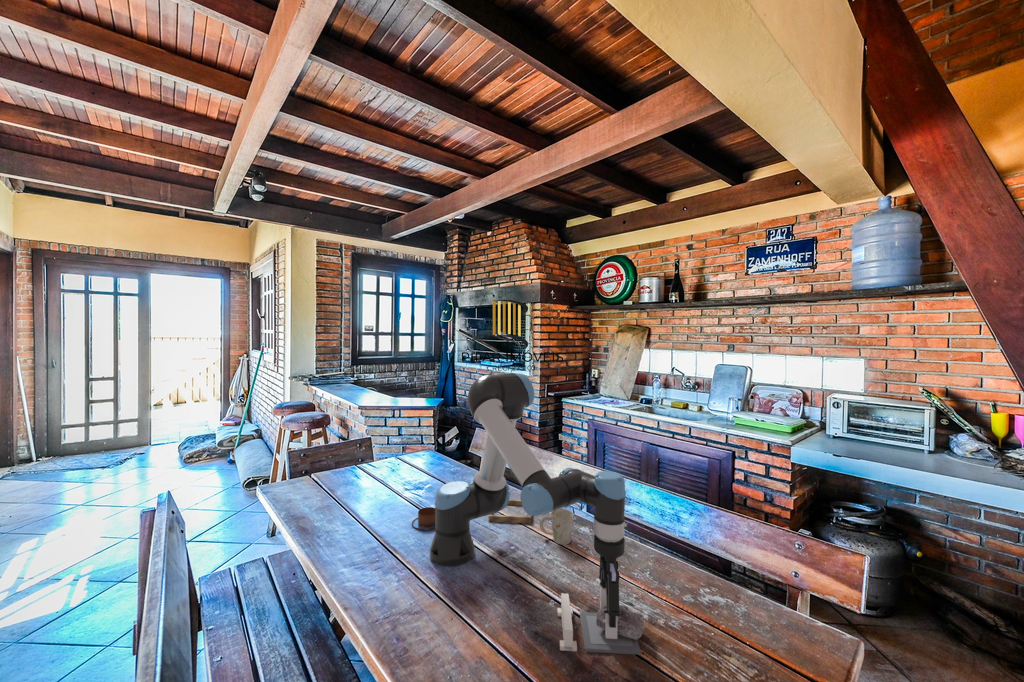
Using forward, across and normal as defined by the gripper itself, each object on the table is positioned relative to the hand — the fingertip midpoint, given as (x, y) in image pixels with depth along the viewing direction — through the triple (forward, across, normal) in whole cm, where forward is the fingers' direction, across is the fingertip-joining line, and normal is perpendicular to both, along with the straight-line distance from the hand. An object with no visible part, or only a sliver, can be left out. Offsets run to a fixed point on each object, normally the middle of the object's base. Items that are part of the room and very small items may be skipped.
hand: (608, 624), depth 104 cm
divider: (+2, 0, +10) cm, 11 cm away
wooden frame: (+2, +67, +29) cm, 73 cm away
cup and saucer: (+3, +54, +61) cm, 82 cm away
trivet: (+2, 0, 0) cm, 2 cm away
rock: (+2, +1, 0) cm, 3 cm away
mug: (+2, +47, +11) cm, 48 cm away
